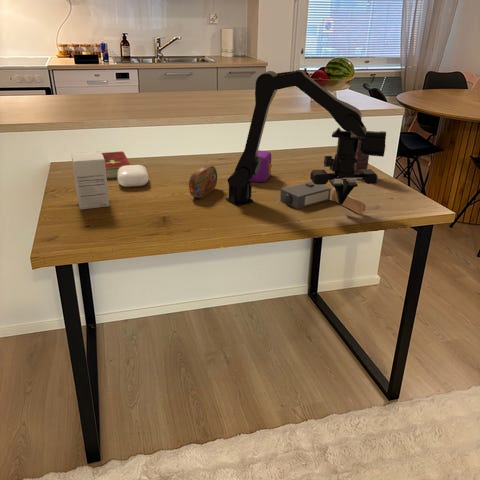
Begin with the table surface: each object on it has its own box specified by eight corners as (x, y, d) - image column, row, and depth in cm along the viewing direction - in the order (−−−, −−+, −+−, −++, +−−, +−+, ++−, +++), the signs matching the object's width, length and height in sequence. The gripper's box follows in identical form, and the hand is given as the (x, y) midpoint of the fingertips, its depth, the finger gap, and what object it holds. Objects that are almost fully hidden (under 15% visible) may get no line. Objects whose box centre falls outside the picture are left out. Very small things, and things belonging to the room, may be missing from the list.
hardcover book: (124, 160, 189) (124, 150, 187) (133, 177, 172) (132, 165, 170) (93, 163, 185) (92, 152, 183) (99, 180, 168) (97, 168, 166)
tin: (196, 201, 150) (195, 176, 146) (187, 200, 151) (186, 174, 148) (218, 187, 162) (218, 163, 159) (209, 186, 164) (209, 162, 160)
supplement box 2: (366, 178, 174) (372, 135, 167) (355, 179, 173) (361, 136, 166) (353, 171, 181) (358, 129, 174) (342, 172, 180) (347, 130, 173)
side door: (364, 213, 143) (366, 202, 142) (359, 214, 143) (361, 203, 141) (335, 198, 154) (336, 187, 153) (331, 199, 153) (332, 188, 152)
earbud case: (118, 190, 158) (116, 174, 156) (117, 177, 170) (116, 163, 167) (149, 188, 160) (148, 173, 158) (147, 176, 172) (146, 161, 169)
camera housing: (294, 209, 146) (296, 195, 144) (277, 201, 152) (278, 188, 150) (329, 200, 154) (331, 186, 152) (312, 192, 160) (313, 179, 158)
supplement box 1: (77, 199, 150) (70, 152, 143) (106, 196, 153) (101, 150, 146) (79, 210, 142) (72, 161, 135) (110, 206, 145) (105, 158, 138)
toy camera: (271, 172, 179) (273, 145, 174) (270, 184, 167) (271, 156, 162) (243, 170, 180) (243, 144, 175) (239, 182, 167) (240, 154, 163)
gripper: (368, 145, 145) (361, 194, 152) (308, 145, 143) (304, 194, 150) (382, 156, 135) (374, 207, 142) (317, 156, 133) (312, 208, 140)
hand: (340, 204), depth 143 cm, fingers closed
